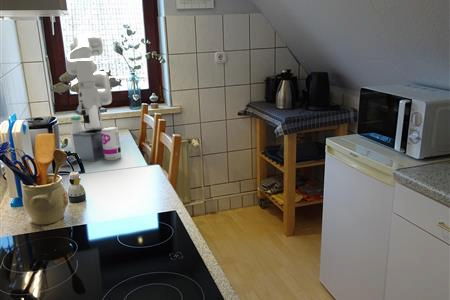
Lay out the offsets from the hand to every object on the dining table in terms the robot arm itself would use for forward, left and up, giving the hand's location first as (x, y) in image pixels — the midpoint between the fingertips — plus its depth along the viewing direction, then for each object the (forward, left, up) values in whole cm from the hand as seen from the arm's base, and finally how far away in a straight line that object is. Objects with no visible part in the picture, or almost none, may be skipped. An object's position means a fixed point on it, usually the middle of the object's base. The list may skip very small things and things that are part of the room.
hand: (92, 121), depth 198 cm
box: (0, 0, -18) cm, 18 cm away
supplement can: (+12, -1, -18) cm, 22 cm away
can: (0, 0, -3) cm, 3 cm away
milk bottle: (-12, +1, -18) cm, 22 cm away
